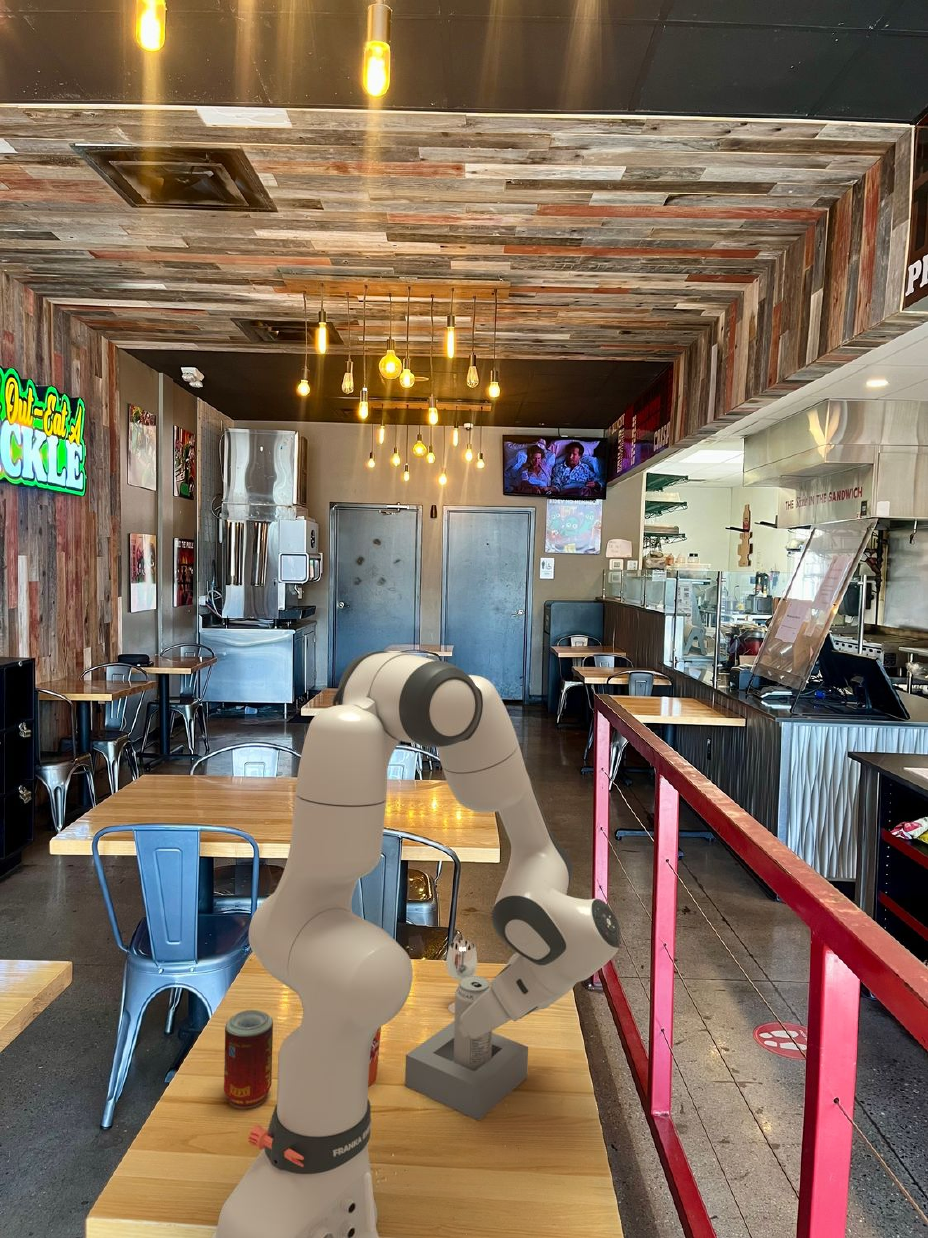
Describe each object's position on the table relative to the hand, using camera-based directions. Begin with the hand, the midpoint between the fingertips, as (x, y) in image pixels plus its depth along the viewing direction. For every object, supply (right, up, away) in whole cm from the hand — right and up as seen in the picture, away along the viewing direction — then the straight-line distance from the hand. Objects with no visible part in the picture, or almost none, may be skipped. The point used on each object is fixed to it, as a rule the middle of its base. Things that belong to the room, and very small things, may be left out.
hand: (480, 1018), depth 132 cm
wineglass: (-3, -10, +24) cm, 27 cm away
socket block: (-2, -11, +2) cm, 11 cm away
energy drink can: (-1, -10, +1) cm, 10 cm away
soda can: (-36, -10, -4) cm, 37 cm away
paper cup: (-19, -10, +1) cm, 22 cm away
